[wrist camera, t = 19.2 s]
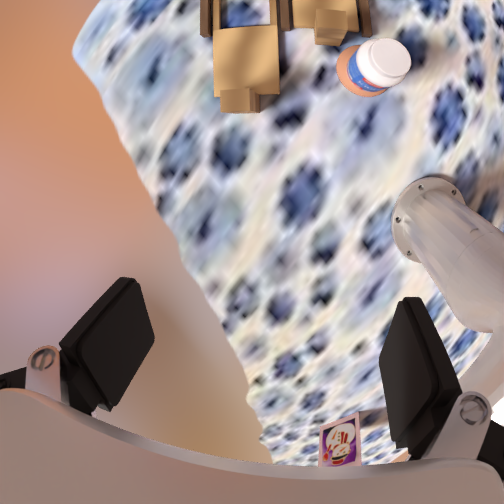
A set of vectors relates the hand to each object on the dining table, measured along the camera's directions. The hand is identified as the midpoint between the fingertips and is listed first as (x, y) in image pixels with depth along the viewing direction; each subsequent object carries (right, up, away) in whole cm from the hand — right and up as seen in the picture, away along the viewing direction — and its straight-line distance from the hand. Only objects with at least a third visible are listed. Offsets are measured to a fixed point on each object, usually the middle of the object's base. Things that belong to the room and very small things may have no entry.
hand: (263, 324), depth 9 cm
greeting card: (+23, -40, +48) cm, 67 cm away
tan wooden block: (+9, +32, +14) cm, 36 cm away
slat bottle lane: (-1, +29, +18) cm, 34 cm away
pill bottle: (+14, +24, +17) cm, 33 cm away
